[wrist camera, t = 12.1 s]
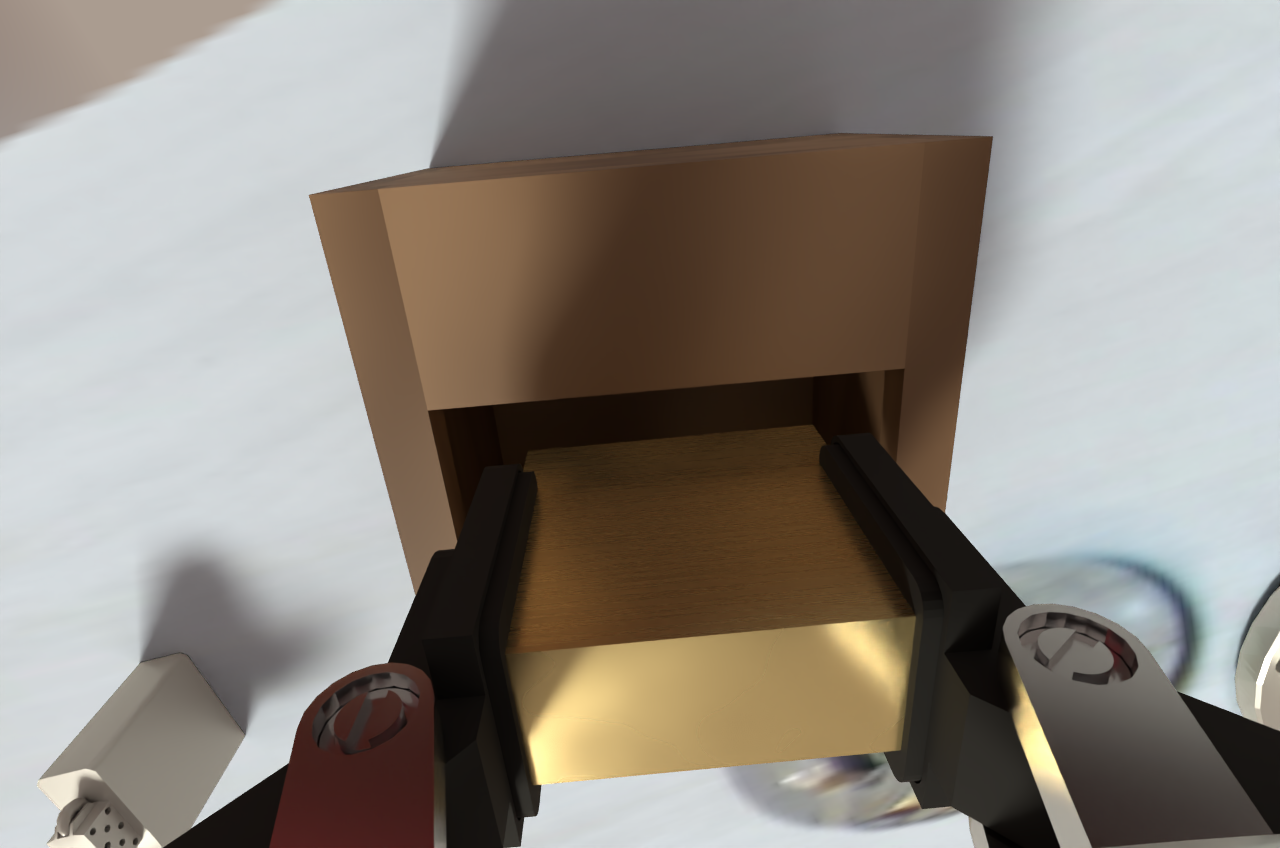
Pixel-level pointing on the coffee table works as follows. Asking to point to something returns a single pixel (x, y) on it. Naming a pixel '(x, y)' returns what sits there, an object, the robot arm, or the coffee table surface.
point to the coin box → (656, 304)
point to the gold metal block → (701, 611)
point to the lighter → (143, 761)
